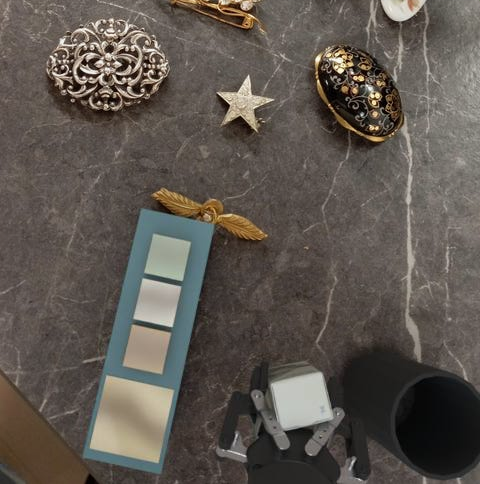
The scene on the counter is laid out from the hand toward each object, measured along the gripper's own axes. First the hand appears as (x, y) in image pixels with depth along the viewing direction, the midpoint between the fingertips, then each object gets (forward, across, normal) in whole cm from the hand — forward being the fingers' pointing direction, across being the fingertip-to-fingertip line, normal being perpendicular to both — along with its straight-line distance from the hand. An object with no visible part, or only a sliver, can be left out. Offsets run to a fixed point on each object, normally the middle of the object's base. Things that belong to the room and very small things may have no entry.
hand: (297, 375), depth 88 cm
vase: (+22, -16, +24) cm, 36 cm away
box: (+3, 0, +6) cm, 7 cm away
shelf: (+23, +15, +23) cm, 36 cm away
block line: (+3, +15, +4) cm, 16 cm away
